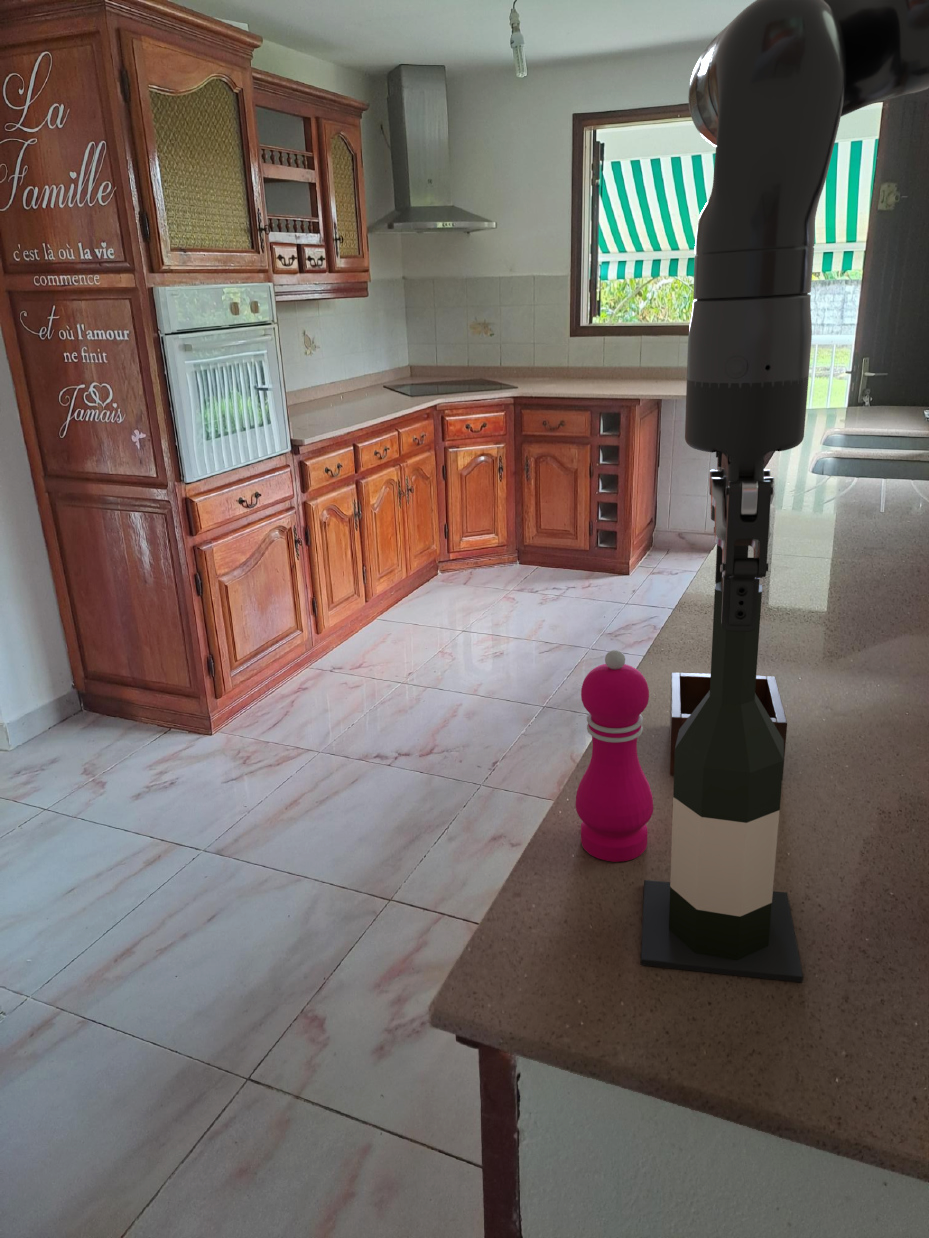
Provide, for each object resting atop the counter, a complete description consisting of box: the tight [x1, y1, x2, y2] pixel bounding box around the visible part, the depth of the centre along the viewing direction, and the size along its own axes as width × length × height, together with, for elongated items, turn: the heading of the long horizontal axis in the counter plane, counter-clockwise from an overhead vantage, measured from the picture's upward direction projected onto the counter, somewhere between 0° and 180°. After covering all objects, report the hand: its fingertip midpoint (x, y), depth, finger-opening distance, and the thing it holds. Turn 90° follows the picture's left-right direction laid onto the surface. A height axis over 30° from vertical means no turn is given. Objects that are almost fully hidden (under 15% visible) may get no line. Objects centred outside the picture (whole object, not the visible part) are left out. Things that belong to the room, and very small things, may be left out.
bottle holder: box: [669, 672, 788, 782], centre depth 98 cm, size 12×12×7 cm
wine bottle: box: [669, 577, 785, 960], centre depth 67 cm, size 8×8×30 cm
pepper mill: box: [575, 649, 654, 863], centre depth 81 cm, size 7×7×20 cm
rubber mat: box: [640, 879, 804, 983], centre depth 72 cm, size 12×10×1 cm
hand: (733, 607), depth 62 cm, fingers open, 8 cm apart
